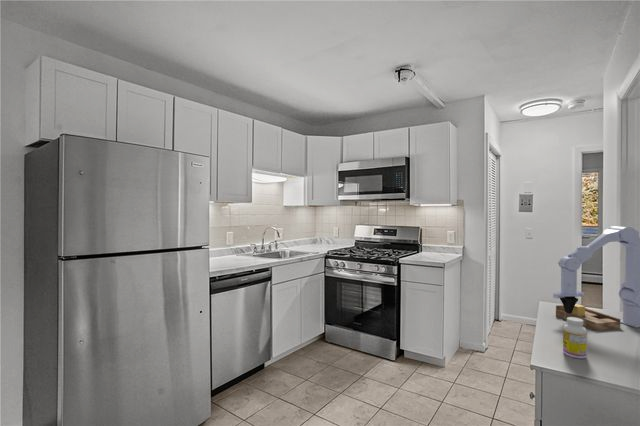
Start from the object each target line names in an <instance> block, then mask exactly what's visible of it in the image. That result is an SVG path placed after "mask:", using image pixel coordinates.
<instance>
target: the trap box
mask: <svg viewBox="0 0 640 426" xmlns="http://www.w3.org/2000/svg"><path fill="white" fill-rule="evenodd" d="M578 304H579V305H581V304H580V303H578ZM555 316H556V317H558V318H560V319H564V320H566V321H567V318H568V317H575V318H579V319H582V320H583V327H584V328H586V329H587V328H588V329H590V330H593V331H603V330H604V331H606V330H616V329H621V322H620V320H621V318H618V317H615V316H612V315H610V314H605V313H602V312H599V311H597V310H593V309H590V308H587V307H585V315H581V316H577V315H574V314H569V313H566V312H565V309H564V306H563V304H559V305H558V304H557V305H555Z"/></svg>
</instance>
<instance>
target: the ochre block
mask: <svg viewBox="0 0 640 426" xmlns="http://www.w3.org/2000/svg"><path fill="white" fill-rule="evenodd" d="M579 304H580V303H576V304H575V306H574V308H573V311H572V313H571V314H574V315H577V316H581V315H585V308H586V306H584V305H581V304H580V305H579Z"/></svg>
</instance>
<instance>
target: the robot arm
mask: <svg viewBox="0 0 640 426" xmlns="http://www.w3.org/2000/svg"><path fill="white" fill-rule="evenodd" d="M612 242H614V243H615V242H618V243H620V244H621V245H622V246H623V247H625V275H624V276H625V277H624V278H625V281H624V282H622V283H621V285H620V286H621V287H620V290H619V292H618V296H619V298H620V299H621V301H622V319H620V324H624V325H628V326H630V327H633V328H640V233H639V231H638V230H637V229H635V228H634V227H631V226H619V225H618V226H617V225H611V226H609V227H608V228H607V229H604V230H603V232H602V233H601V234H600V235H599V236H597V237H596V238H595V239H593V241H591V242H590V243H589V244H587V245H586V246H584V245H580V246H578V247H576V250H573V252H571V253H568V254H567V256H562V257H561V258H560V259H559V261H558V262H557V264H558V266H559V267H560V278H561V279H560V291H559V292H553V295H552V298H554V299H559V300H560V302H561V304H562V305H563V306H564V309H565V312H566V313H569V314H571V313H572V311H573V308H574V306H575V304H578V302H579V297H581V298H584V297H585V293H584V292H582V291H577V289H578V287H577V285H578V282H577V281H578V277H577V276H578V274H577V273H578V270H579V269H580V268H581V265H582V264H583V263H584V262H587V260H589V259H590V258H592V257H593V256H594V252H595V251H597V250H598V249H601V248H602V247H603V246H606V245H607V244H609V243H612Z"/></svg>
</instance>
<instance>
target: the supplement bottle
mask: <svg viewBox="0 0 640 426" xmlns="http://www.w3.org/2000/svg"><path fill="white" fill-rule="evenodd" d="M562 329H563V332H562V333H563V334H562V335H563V336H562V351H563V354H564V355H566V356H568V357H570V358H574V359H581V360H582V359H586V358H587V351H588V347H587V345H588V343H587V341H588V339H587V338H588V330H587V328H586V327H585V326H583V320H582V319H579V318H575V317H568V318H567V320H566V323H565V324H564V325H563V328H562Z"/></svg>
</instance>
